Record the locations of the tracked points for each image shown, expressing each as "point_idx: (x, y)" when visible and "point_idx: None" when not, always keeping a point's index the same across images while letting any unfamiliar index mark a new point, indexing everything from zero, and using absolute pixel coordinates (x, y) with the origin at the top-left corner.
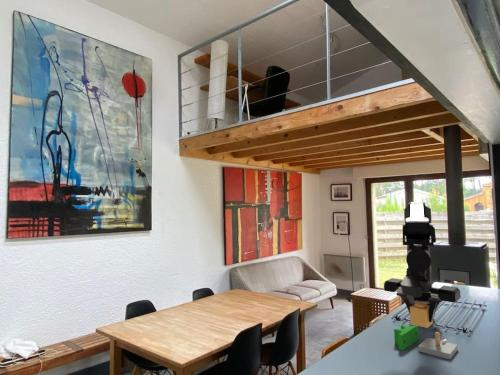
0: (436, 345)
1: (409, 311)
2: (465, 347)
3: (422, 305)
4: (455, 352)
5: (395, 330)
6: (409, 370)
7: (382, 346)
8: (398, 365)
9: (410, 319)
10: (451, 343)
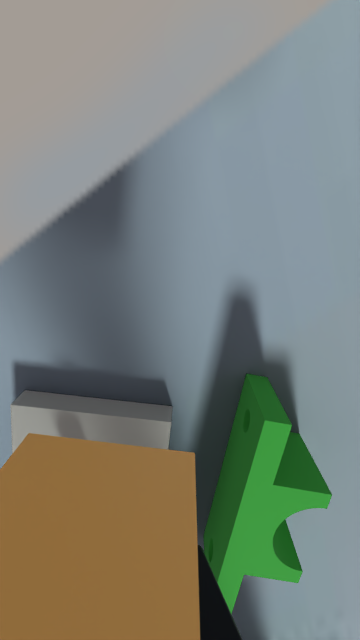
0: None
1: (222, 623)
2: None
3: None
4: None
5: (320, 489)
6: (159, 135)
7: (354, 367)
8: (227, 165)
9: (194, 489)
10: None
